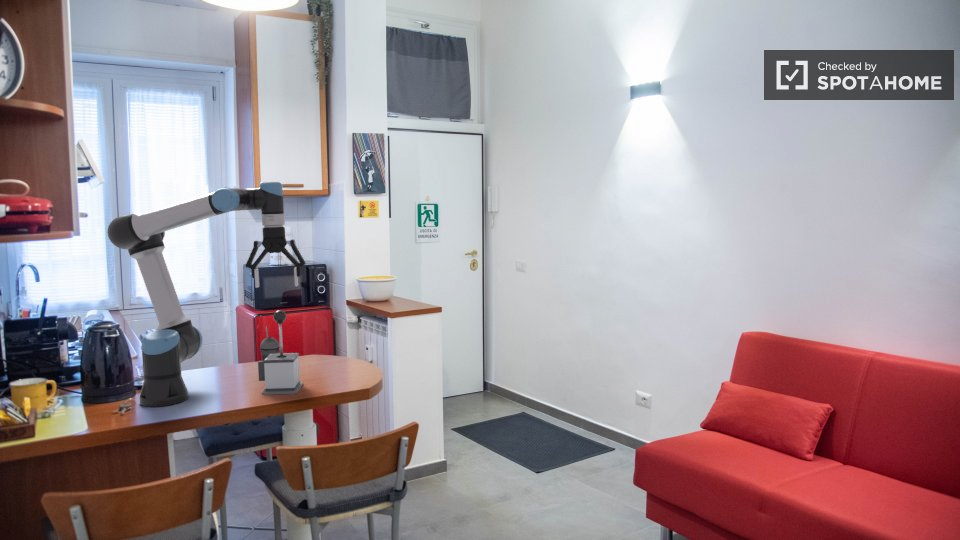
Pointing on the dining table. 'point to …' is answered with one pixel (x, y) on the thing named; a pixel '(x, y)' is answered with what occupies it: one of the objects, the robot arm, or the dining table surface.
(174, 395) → the robot arm
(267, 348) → the beverage cup
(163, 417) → the dining table surface
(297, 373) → the grey cube on plate
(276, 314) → the lever with ball knob
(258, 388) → the dining table surface
